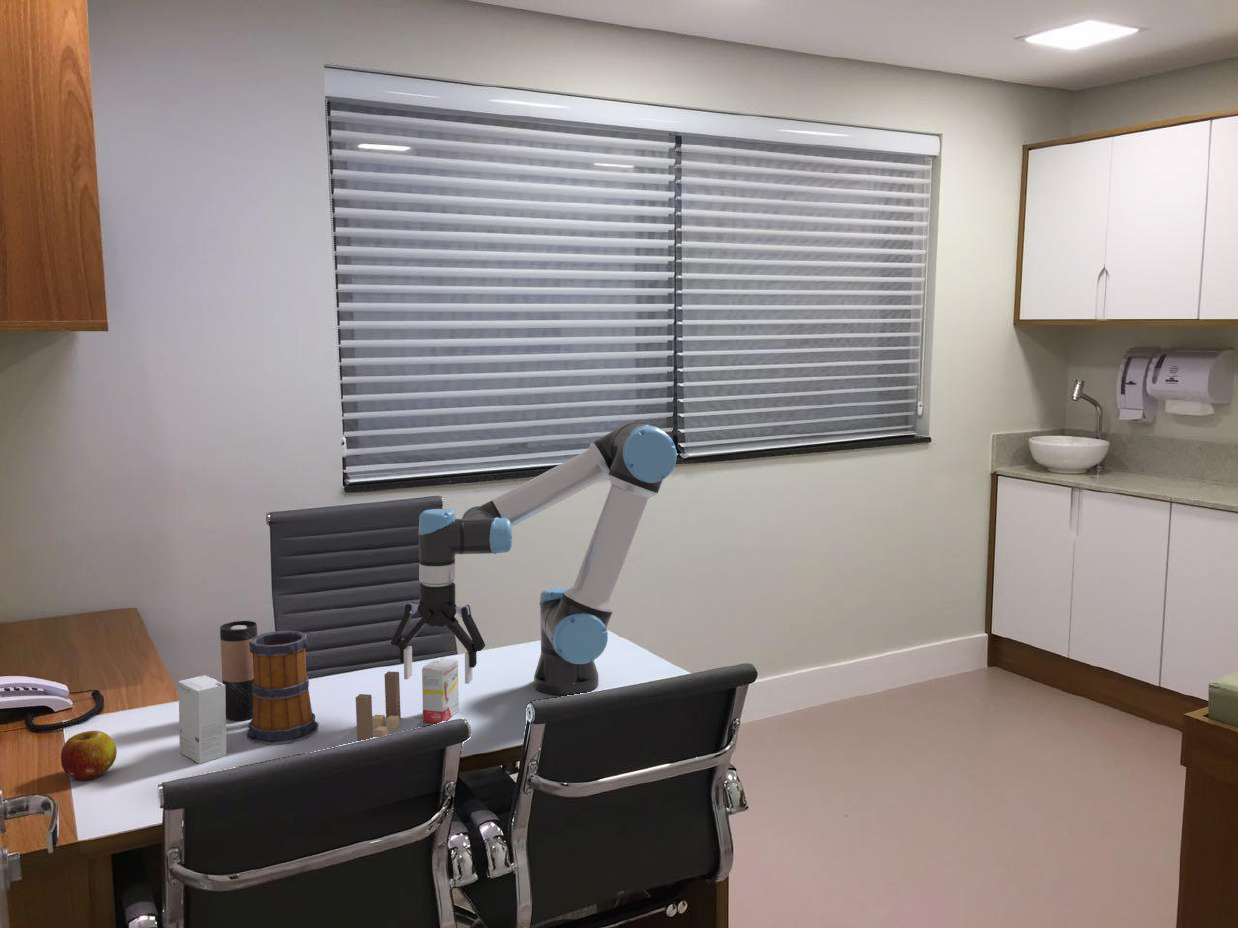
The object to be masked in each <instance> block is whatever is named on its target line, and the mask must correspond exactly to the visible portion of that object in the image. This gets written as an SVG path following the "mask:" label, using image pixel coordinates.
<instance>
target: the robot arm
mask: <svg viewBox="0 0 1238 928" xmlns="http://www.w3.org/2000/svg"><path fill="white" fill-rule="evenodd" d="M677 454H678V453H677V449H676V445H675V442H674V441H673V439H672V438H671V436H670V435H669V434H667V432H665V431H664V430H663V429H661V428H659V427H657V426H654V425H651V424H646V423H643V422H638V421H637V422H634V421H633V422H628V423H625V424H623V425H620V426H619V427H617V428H616V429H614V430H612V431H611V432H609V433H607V434H606V435H603V436H602V437H600V438H598V439H597V440H595V441H593V442H591V443H590V445H589V448H588V449H587V450H585V451H584V452H583V451H582V452H581V453H579V454H577V455H575V456H573V457H571V458H570V459H568V460H566V461H563V462H562V463H560V464H558V465H557V466H555V467H552V468H550V469H548V470H547V471H545V472H543V473H541V474H539V475H537V476H535V477H533V478H532V479H530V480H527V481H526V482H524V483H522V484H520V485H519V486H517V487H516V486H515V487H514V488H512V489H511V490H508V491H507V492H504V493H503V494H501V495H499V496H497V497H495V498H493V499H492V500H490V501H488V502H486V503H484V504H481V505H476V506H471V507H469V508H468V509H467V510H465V511H464V513H463V515H462V517H461V518H456V514H455V511H454V510H453V509H449V508H448V509H447V508H432V509H426V510H423V511H422V512H421V513H420V514H419V516H418V518H419V519H418V556H419V557H418V558H419V559H418V561H419V562H418V563H419V565H418V568H419V569H418V570H419V571H418V574H419V576H418V578H419V579H418V580H419V582H420V584H419V586H418V587H419V589H418V590H419V604H418V603H415V602H414V601H410V602H408V603H407V604H406V605H405V606H404V614H403V616H402V618H401V620H400V622H399V625H398V626H397V628H396V631H395V633H394V634H393V637H392V639H391V641H390V644H391V645H392V646H395V647H398V648H399V661H400V663H401V664H403V678H404V679H403V680H408V679H410V678H411V677H412V676H413V645H412V646H411V645H410V644H411V642H412V641H413V640H414V638H415V637H416V636H417V635H418V634H419V633H420V632H421V630H423V628H424V627H425V626H426V625H428V626H429V627H435V626H436V627H439V628H443V627H447V628H448V630H449V631H451V632H452V633H453V635H454V636H455V637H456V638H457V640H458V641H459V642H460V643H461V644H462V645H463V647H464V648H465V649H466V652H465V653H464V684H467V685H469V684H470V683H471V682H472V681H473V669H474V668H475V667H476V666H477V662H478V661H477V657H478V655H477V653H478V652H481V651H482V650H483V649H484V648H486V643H485V641H484V639H483V637H482V635H481V633H480V631H479V629H478V626H477V624H476V622H475V620H474V618H473V616H472V611H471V606H470V605H469V604H466V605H464V606H457V604H456V583H455V582H454V581H455V580H456V555H477V554H478V555H481V554H484V555H486V554H490V555H491V554H493V555H497V554H502V553H508V552H510V551H511V550H512V545H513V544H512V543H513V529H512V527H514V526H517V525H518V524H521V523H523V522H524V521H526V520H528V519H529V518H531V517H533V516H535V515H538V514H539V513H541V512H543V511H545V510H547V509H549V508H550V507H553V506H554V505H556V504H558V503H560V502H562V501H564V500H566V499H568V498H570V497H571V496H573V495H575V494H577V493H579V492H581V491H583V490H585V489H587V488H589V487H591V486H593V485H595V484H596V483H598V482H601V481H602V480H608V481H610V485H611V486H610V489H609V492H608V493H607V497H606V499H605V502H604V504H603V507H602V510H601V513H600V515H599V518H598V520H597V523H596V526H595V528H594V530H593V534H592V537H591V538H590V540H589V544H588V546H587V549H586V552H585V555H584V557H583V559H582V562H581V565H580V568H579V570H578V573H577V575H576V578H575V581H574V583H573V585H572V586H565V587H564V586H563V587H553V588H547V589H544V590H543V591H541V593H540V598H539V603H538V605H539V611H540V613H539V615H540V617H539V618H540V656H539V659H538V662H537V666H536V669H535V672H534V675H533V684H534V685H533V687H534V688H535V689H536V690H537V691H538V692H542V693H545V694H547V695H549V694H550V695H555V696H556V695H557V696H570V695H569V694H574V695H577V694H576V693H581V694H584V693H583V692H585V693H588V692H590V691H593V690H595V689H596V688H597V687H598V686H599V681H600V680H599V672H598V670H597V666H596V664H595V660H596V659H598V658H599V657H600V656H601V655H602V654H603V652H604V651H605V650H606V648H607V644H608V638H609V632H608V628H607V627H608V625H609V623H610V621H611V618H612V614H613V612H614V607H613V606H612V604H611V597H612V595H613V592H614V589H615V587H616V584H617V582H618V579H619V577H620V575H621V571H622V569H623V566H624V564H625V561H626V558H627V556H628V554H629V551H630V548H631V545H632V542H633V540H634V537H635V534H636V532H637V529H638V526H639V524H640V522H641V519H642V517H643V514H644V511H645V509H646V506H647V504H648V500H649V499H650V498H652V497H655V496H656V495H658V493H659V491H660V488H661V486H662V483H663V481H664V480H665V479H666V478H667V477H668V476H669V475H671V473H672V472H673V470H674V468H675V467H676V466H675V465H676V463H677V456H678V455H677ZM417 611H418V614H419V615H420V616H421V618H420V620H419V621H417V623H416V624H415V626H414V627H413V628H412V629H411V630H410V632H408V633H407V635H406V636H405V637H404V635H405V632H406V631H407V628H408V626H409V625H410V622H411V620H412V618H413V615H414V614H415V613H417ZM456 614H458V615H459V617H461V619H462V622H463V625H464V626H465V628H466V630H467V632H468V634H467V632H466V631H465V629H464V628H463V627H462V626H461V624H459V623H460V622H459V620H458V619H457V618H456V617H455V616H456ZM403 637H404V639H403Z"/></svg>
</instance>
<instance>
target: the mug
mask: <svg viewBox="0 0 1238 928" xmlns="http://www.w3.org/2000/svg"><path fill="white" fill-rule="evenodd" d="M249 645H250V652H251V653H253V671H254V682H253V684H252V692H253V695H254V696H253V713H252V719H250V721H249V723H248V730H247V733H246V735H245V736H246V739H247V740H248V741H250V742H252V743H253V744H255V745H256V744H258V745H266V746H277V745H278V746H279V745H288V744H290V745H291V744H293V743H296V742H300V741H304V740H307V739H309V738H311V737H312V736H314V735H315V734H317V733H318V732H319V722H318V721H316V714H315V713H313V710H312V708H313V707H312V704H311V696H310V689H309V686H310V682H309V681H310V680H309V675H307V659H306V656H307V655H306V648H308V646H309V641H308V636H307V634H306V633H304V632H303V631H302V632H301V631H296V630H276V631H270V632H264V633H261V634H257V636H256V637H254V638H252V639H251V641H250V643H249Z"/></svg>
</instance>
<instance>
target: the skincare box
mask: <svg viewBox="0 0 1238 928" xmlns="http://www.w3.org/2000/svg"><path fill="white" fill-rule="evenodd" d="M177 682H178V720H179V721H178V728H179V729H178V731H179V754H181V755H184V756H185V757H187V758H190V759H191V760H193V761H194V762H196V763H197V764H203V763H208V762H210V761H213V760H216V759H220V758H223V757H226V756H227V718H226V702H225V685H224V684H223V682H220V681H218V680H217V678H216V679H215V678H213V677H209V676H208V675H205V674H204V675H200V676H199V675H198V676H194V677H192V678H187V679H186V678H185V679H182V680H179V681H177Z"/></svg>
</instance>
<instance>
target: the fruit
mask: <svg viewBox="0 0 1238 928" xmlns="http://www.w3.org/2000/svg"><path fill="white" fill-rule="evenodd" d="M63 744H64V745H63V746H62V747H61V753H60V762H61V763H60V764H61V766H62V769H63V771H64V772H65V774H66V775H68V776H69V777H70V778H72V779H74V780H81V781H82V780H83V781H87V780H92V779H95V778H98V777H100V776H101V775H103V774H104V773H107V771H109V770H110V768H111V767H112V766H113V765H114V763H115V760H116V758H117V753H118V752H117V746H116V743H115V741H114V739H113V738H111V736H109V735H108V733H106V732H104V731H101V730H87V731H83V732H80V733H79V732H78V733H76V734H74V735H73V736H71V737H70V738H68V739H67V740H66V742H64V743H63Z"/></svg>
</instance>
